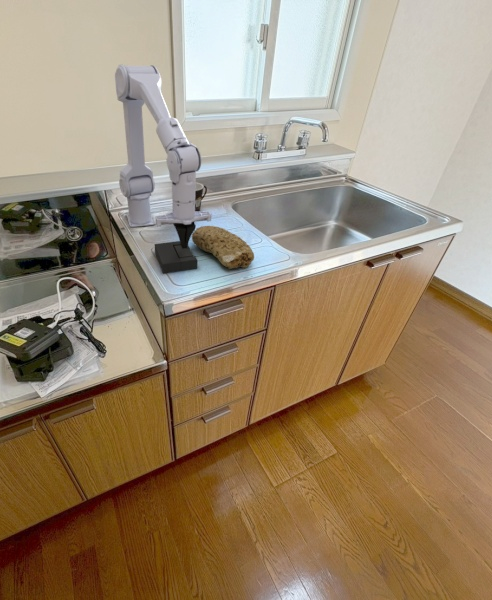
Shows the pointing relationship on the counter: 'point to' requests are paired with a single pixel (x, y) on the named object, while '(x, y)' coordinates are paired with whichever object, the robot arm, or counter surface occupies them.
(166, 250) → the base pad
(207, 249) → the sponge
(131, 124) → the robot arm
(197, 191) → the coffee mug
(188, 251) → the pad piece
